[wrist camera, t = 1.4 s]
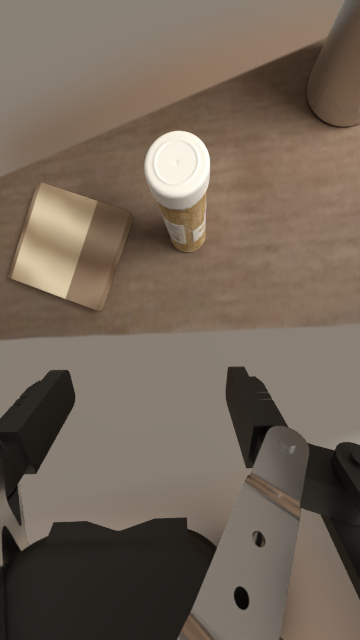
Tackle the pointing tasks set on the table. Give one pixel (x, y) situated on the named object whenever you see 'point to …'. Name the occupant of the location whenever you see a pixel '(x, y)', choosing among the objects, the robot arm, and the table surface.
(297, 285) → the table surface
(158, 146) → the sprinkles bottle
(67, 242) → the board
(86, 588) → the robot arm
